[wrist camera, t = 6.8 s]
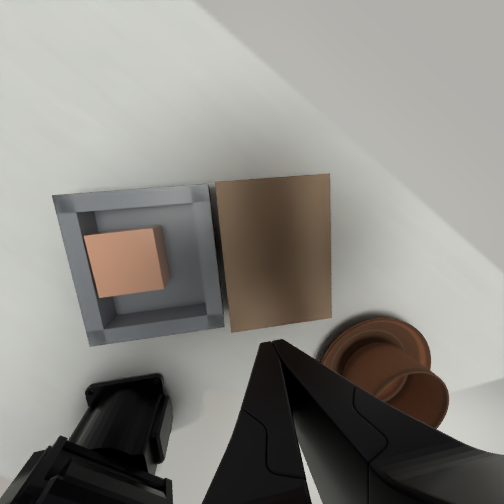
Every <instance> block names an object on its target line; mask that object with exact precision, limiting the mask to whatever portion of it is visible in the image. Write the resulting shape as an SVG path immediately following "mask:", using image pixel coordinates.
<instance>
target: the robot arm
mask: <svg viewBox="0 0 504 504" xmlns="http://www.w3.org/2000/svg"><path fill="white" fill-rule="evenodd" d="M155 380H158V381H155ZM91 390H92V391H94V392H92V391H91ZM85 395H86V399H87V403H88V406H89V408H88V410H87V411H86V413H85V414H84V416H83V418H82V419H81V421H80V422H79V424H78V426H77V427H76V429H75V430H74V432H73V434H72V435H71V437H70V438H69V440H67V439H68V438H66V437H63V436H61V435H60V436H59V438H58V439H57V440H56V442H55V443H54V444H53V446H48V448H47V449H46V450H42V451H38V452H34V453H33V455H32V456H31V457H30V459H29V460H28V461H27V463H26V464H25V466H24V467H23V468H22V470H21V471H20V472H19V474H18V475H17V476H16V478H15V479H14V481H13V482H12V483H11V485H10V486H9V487H8V489H7V490H6V492H5V493H4V494H3V496H2V497H1V498H0V504H173V495H172V480H170V479H167V478H165V479H163V478H160V477H158V476H155V471H156V467H157V464H160V463H162V462H163V461H164V459H165V455H166V450H167V446H168V440H169V436H170V433H171V429H172V421H173V415H172V409H171V404H170V398H169V396H168V395H166V394H165V388H164V383H163V378H162V376H161V375H159V374H155V375H149V376H143V377H137V378H130V379H124V380H118V381H112V382H106V383H100V384H94V385H90V386H89V387H88V388H87V390H86V391H85ZM298 442H299V443H298ZM299 444H300V447H301V449H302V452H303V454H304V457H305V460H306V462H307V465H308V467H309V470H310V472H311V475H312V477H313V479H314V482H315V485H316V487H317V490H318V493H319V495H320V498H321V500H322V503H323V504H504V455H500V454H494V453H489V452H486V451H483V450H479V449H476V448H474V447H471V446H469V445H466V444H464V443H462V442H460V441H458V440H456V439H454V438H452V437H450V436H448V435H446V434H444V433H443V432H441V431H439V430H437V429H435V428H433V427H431V426H429V425H427V424H425V423H423V422H421V421H419V420H417V419H415V418H413V417H412V416H410V415H408V414H406V413H404V412H402V411H400V410H398V409H396V408H395V407H393V406H391V405H389V404H387V403H385V402H383V401H382V400H380V399H378V398H377V397H375V396H373V395H372V394H370V393H368V392H367V391H365V390H363V389H362V388H360V387H359V386H357V385H355V384H354V383H352V382H350V381H349V380H347V379H346V378H344V377H342V376H341V375H339V374H338V373H336V372H334V371H333V370H331V369H330V368H328V367H326V366H325V365H323V364H322V363H320V362H318V361H317V360H315V359H314V358H312V357H310V356H309V355H307V354H306V353H304V352H302V351H301V350H299V349H298V348H296V347H294V346H293V345H291V344H290V343H288V342H286V341H285V340H283V339H280V340H274V341H272V342H270V341H269V342H263V343H260V346H259V349H258V352H257V356H256V359H255V362H254V366H253V369H252V372H251V376H250V379H249V382H248V386H247V389H246V393H245V396H244V399H243V403H242V406H241V410H240V412H239V416H238V419H237V422H236V425H235V428H234V431H233V434H232V437H231V439H230V442H229V444H228V447H227V449H226V451H225V453H224V456H223V458H222V460H221V462H220V465H219V467H218V469H217V471H216V473H215V476H214V478H213V480H212V482H211V484H210V487H209V489H208V491H207V494H206V495H205V498H204V500H203V502H202V504H312V502H311V499H310V495H309V490H308V486H307V482H306V476H305V472H304V467H303V462H302V457H301V453H300V448H299Z"/></svg>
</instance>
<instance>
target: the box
mask: <svg viewBox="0 0 504 504" xmlns="http://www.w3.org/2000/svg"><path fill="white" fill-rule="evenodd" d="M52 198H53V202H54V206H55V210H56V214H57V218H58V222H59V226H60V230H61V234H62V238H63V242H64V246H65V250H66V254H67V257H68V261H69V265H70V269H71V273H72V277H73V281H74V285H75V289H76V293H77V297H78V301H79V305H80V309H81V313H82V317H83V321H84V325H85V329H86V333H87V337H88V341H89V345H90V347H91V346H98V345H105V344H112V343H118V342H125V341H132V340H139V339H146V338H153V337H159V336H166V335H173V334H180V333H187V332H194V331H200V330H207V329H214V328H221V327H224V311H223V302H222V293H221V285H220V276H219V268H218V259H217V250H216V242H215V233H214V224H213V216H212V207H211V198H210V190H209V185H208V184H197V185H184V186H171V187H157V188H144V189H130V190H117V191H103V192H90V193H76V194H63V195H52ZM156 225H161V229H162V235H163V241H164V246H165V252H166V257H167V263H168V268H169V274H170V280H169V282H168V283H167V285H166V286H165V288H164V289H160V290H153V291H146V292H139V293H131V294H124V295H117V296H110V297H103V298H99V295H98V291H97V287H96V283H95V279H94V275H93V271H92V267H91V263H90V259H89V255H88V251H87V247H86V243H85V239H84V236H85V235H89V234H93V233H97V232H101V231H110V230H119V229H128V228H137V227H146V226H156Z"/></svg>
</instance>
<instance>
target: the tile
mask: <svg viewBox="0 0 504 504" xmlns="http://www.w3.org/2000/svg"><path fill="white" fill-rule="evenodd" d="M84 239H85V243H86V247H87V251H88V255H89V259H90V263H91V267H92V271H93V275H94V279H95V283H96V287H97V291H98V295H99V298H103V297H110V296H117V295H124V294H131V293H139V292H146V291H153V290H160V289H164V288H165V286H166V285H167V283H168V282H169V280H170V274H169V268H168V263H167V257H166V252H165V246H164V241H163V235H162V229H161V225H156V226H146V227H137V228H128V229H119V230H110V231H101V232H97V233H93V234H89V235H85V236H84Z"/></svg>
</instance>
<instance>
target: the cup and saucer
mask: <svg viewBox="0 0 504 504" xmlns="http://www.w3.org/2000/svg"><path fill="white" fill-rule="evenodd" d="M321 363H322V364H323V365H325V366H326V367H328V368H330V369H331V370H333V371H334V372H336V373H338V374H339V375H341V376H342V377H344V378H346V379H347V380H349V381H350V382H352V383H354V384H355V385H357V386H359V387H360V388H362V389H363V390H365V391H367V392H368V393H370V394H372V395H373V396H375V397H377V398H378V399H380V400H382V401H383V402H385V403H387V404H389V405H391V406H393V407H395V408H396V409H398V410H400V411H402V412H404V413H406V414H408V415H410V416H412V417H413V418H415V419H417V420H419V421H421V422H423V423H425V424H427V425H429V426H431V427H433V428H435V429H437V428H438V427H439V425H440V424H441V422H442V421H443V419H444V417H445V415H446V413H447V410H448V405H449V394H448V390H447V387H446V385H445V384H444V382H443V381H442V380H441V379H440V378H439V377H438V376H436V375H435V374H434V373H433V372H431V371H430V367H431V355H430V350H429V346H428V344H427V341H426V340H425V338H424V336H423V335H422V334H421V333H420V332H419V331H418V330H417V329H416V328H415V327H413V326H412V325H410V324H408V323H406V322H403V321H400V320H397V319H392V318H375V319H370V320H366V321H363V322H360V323H358V324H356V325H354V326H352V327H351V328H349V329H347V330H346V331H345V332H343V333H342V334H341V335H340V336H339V337H338V338H337V339H335V341H334V342H333V343H332V344H331V345H330V347H329V348H328V350H327V351H326V353H325V355H324V357H323V359H322V361H321Z"/></svg>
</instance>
